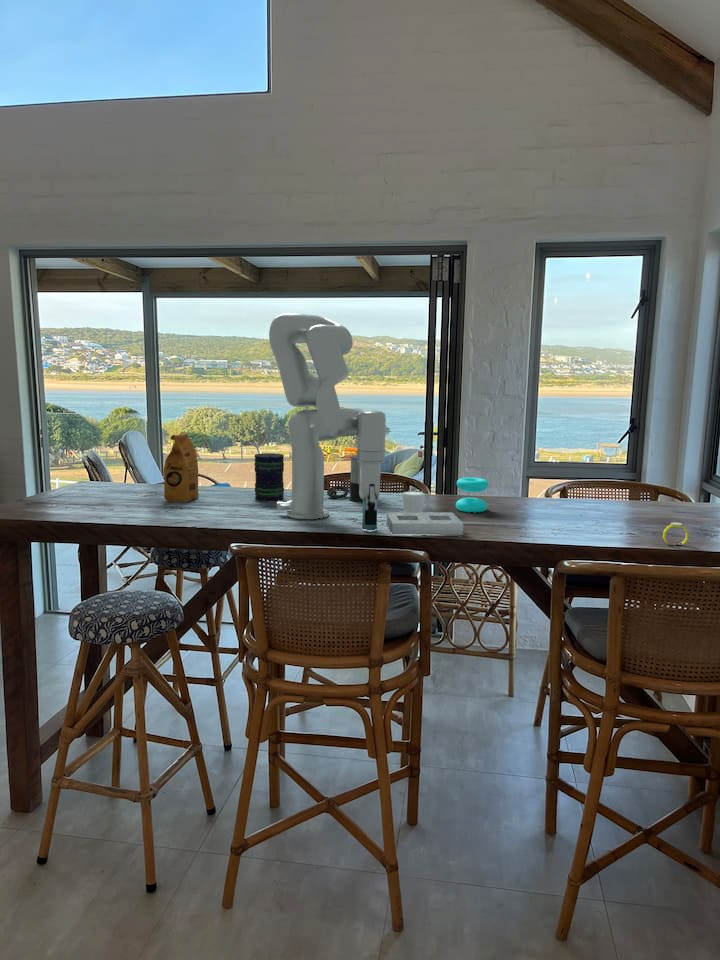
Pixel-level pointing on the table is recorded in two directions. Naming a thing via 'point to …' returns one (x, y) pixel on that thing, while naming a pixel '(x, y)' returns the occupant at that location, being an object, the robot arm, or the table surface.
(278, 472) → the storage jar
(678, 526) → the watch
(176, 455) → the coffee package
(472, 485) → the donuts
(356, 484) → the milk frother
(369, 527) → the peg
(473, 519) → the table surface
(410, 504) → the grey cup
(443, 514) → the block
